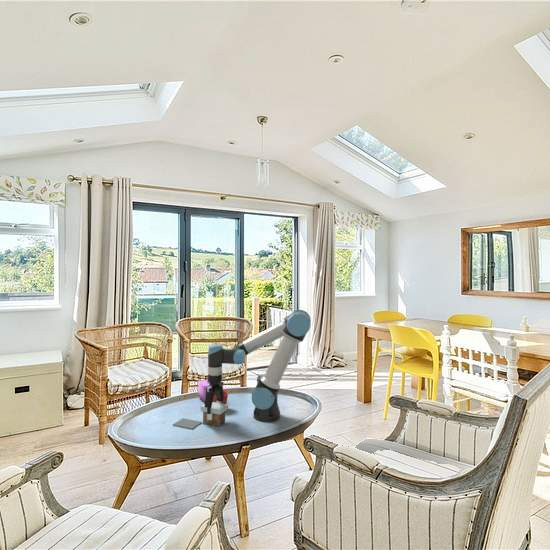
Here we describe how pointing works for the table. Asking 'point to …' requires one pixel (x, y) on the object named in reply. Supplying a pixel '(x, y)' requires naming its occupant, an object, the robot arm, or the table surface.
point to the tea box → (214, 419)
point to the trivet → (187, 423)
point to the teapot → (202, 389)
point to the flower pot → (221, 396)
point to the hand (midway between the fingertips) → (214, 416)
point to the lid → (216, 408)
